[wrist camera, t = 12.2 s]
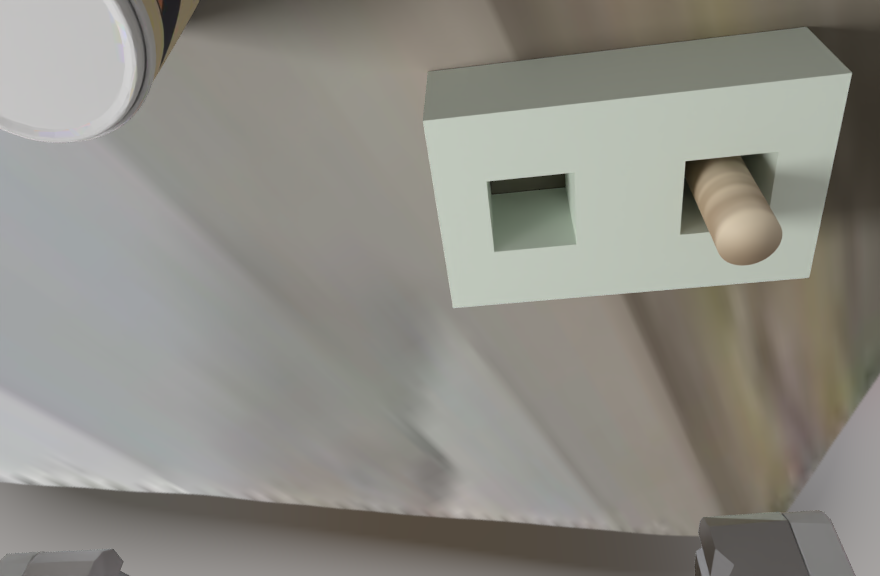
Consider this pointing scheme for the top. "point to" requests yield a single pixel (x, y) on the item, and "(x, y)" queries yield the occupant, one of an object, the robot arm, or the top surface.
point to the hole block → (628, 163)
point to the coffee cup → (81, 63)
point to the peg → (733, 209)
